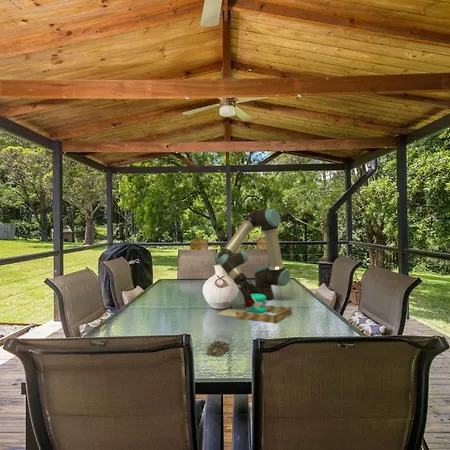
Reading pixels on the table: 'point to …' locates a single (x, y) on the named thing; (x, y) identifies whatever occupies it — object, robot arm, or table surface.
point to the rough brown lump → (220, 346)
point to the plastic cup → (248, 303)
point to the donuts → (259, 299)
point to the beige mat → (230, 312)
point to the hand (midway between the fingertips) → (262, 305)
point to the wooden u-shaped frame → (281, 314)
